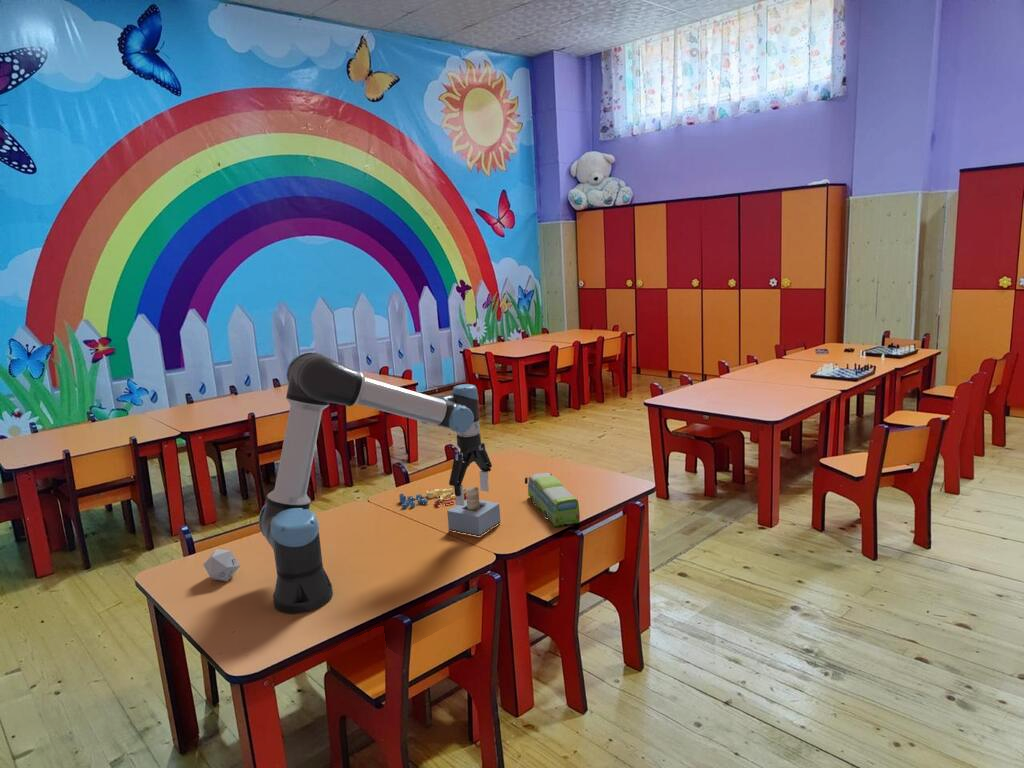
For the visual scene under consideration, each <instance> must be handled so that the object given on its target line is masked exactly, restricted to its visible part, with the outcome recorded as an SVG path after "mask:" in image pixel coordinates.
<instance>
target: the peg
mask: <svg viewBox="0 0 1024 768" xmlns="http://www.w3.org/2000/svg"><path fill="white" fill-rule="evenodd" d="M465 488H466V487H465ZM465 495H466V498H467V510H470V511H475V512H476V511H477V510H479V509H480V503H479V500H480V493H479V487H478V486H469V487H467V488H466V494H465Z"/></svg>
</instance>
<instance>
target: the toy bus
mask: <svg viewBox="0 0 1024 768" xmlns="http://www.w3.org/2000/svg"><path fill="white" fill-rule="evenodd" d="M526 484H527V495H528V496H530V497H529V498H530V500H531V499H532V500H531V502H532V501H533V502H534V503H535V504H536V505H535V504H534V505H535V506H537V508H538V507H539V508H540V509H541V510H540V509H539V508H538V509H539V510H540V511H541V512H542V513H543V516H544V518H545V517H546V518H548V519H549V520H550V521H549V522H550V523H551V522H552V523H553V524H552V523H551V524H552V526H554V527H559V526H558V525H561V526H563V525H562V524H567V525H572V524H578V523H580V522H581V518H580V506H579V500H578V498H576V497H575V496H573V495H572V494H571V492H570V491H568V490H567V488H565V487H564V484H563V483H562V482H561V481H560V480H559V479H558V478H557V477H556V476H555V475H553V474H552V473H549V472H541V473H534V474H532V475H530V476H529V477H528V476H527V477H525V478H524V485H526Z"/></svg>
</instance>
